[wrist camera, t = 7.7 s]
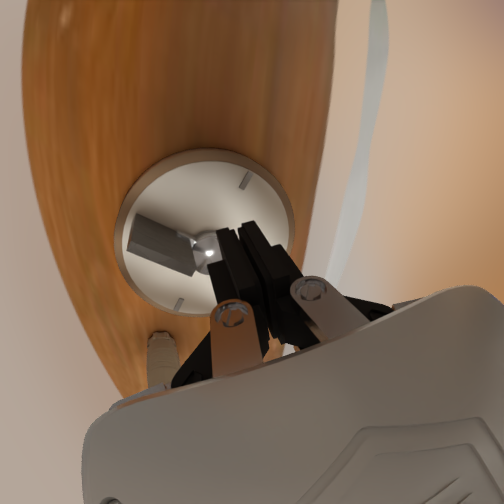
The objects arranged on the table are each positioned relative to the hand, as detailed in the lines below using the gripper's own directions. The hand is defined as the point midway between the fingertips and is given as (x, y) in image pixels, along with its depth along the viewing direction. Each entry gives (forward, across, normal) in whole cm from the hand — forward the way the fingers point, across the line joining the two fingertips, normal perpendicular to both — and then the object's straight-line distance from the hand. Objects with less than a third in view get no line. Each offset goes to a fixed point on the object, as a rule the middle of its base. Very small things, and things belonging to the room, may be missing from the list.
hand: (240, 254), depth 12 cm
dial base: (+14, +1, +7) cm, 16 cm away
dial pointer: (+12, +1, +7) cm, 13 cm away
